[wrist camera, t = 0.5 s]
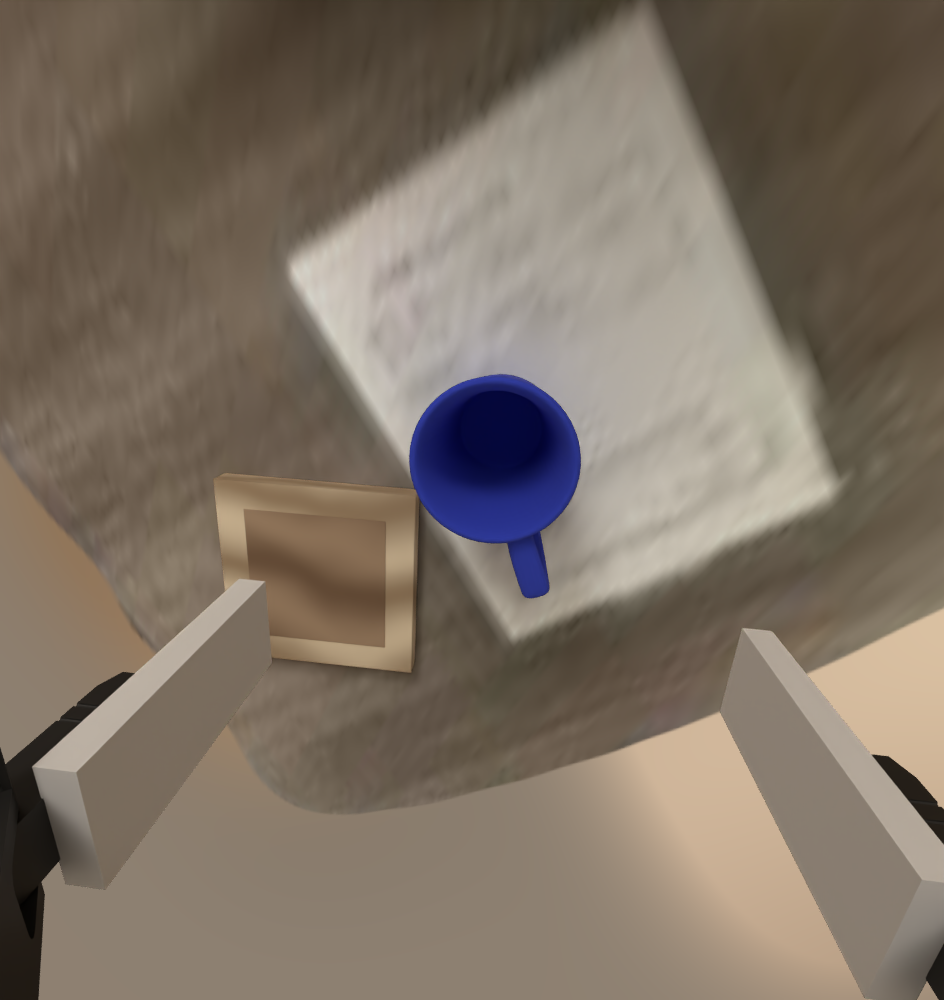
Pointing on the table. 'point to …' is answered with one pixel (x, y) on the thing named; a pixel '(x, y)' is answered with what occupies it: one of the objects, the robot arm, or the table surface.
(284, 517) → the trivet
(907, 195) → the table surface
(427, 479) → the mug
